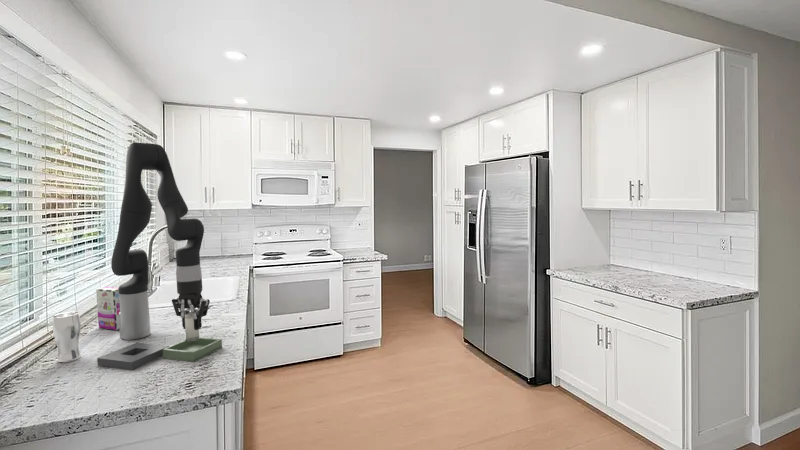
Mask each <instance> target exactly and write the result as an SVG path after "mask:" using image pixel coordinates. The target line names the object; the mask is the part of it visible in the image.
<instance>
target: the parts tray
mask: <svg viewBox="0 0 800 450" xmlns="http://www.w3.org/2000/svg"><path fill="white" fill-rule="evenodd" d="M222 341H223V340H222V338H213V337H211V338H210V337H201V336H199V339H198V340H196V341H191V342H188V341H186V338H184V339H183V340H181V341H179V342H176V343H174V344H172V345H168V346H169V347H167V348H165V349H163V356H162V358H163V359H167V360H172V361H184V362H189V363H190V362H192V363H195V362H198V361H199V360H201V359H203V358H205V357H207V356H209V355H211V354H212V353H214V352H217V351H218V350H220V349H222V348H223V342H222Z"/></svg>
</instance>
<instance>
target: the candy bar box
mask: <svg viewBox="0 0 800 450" xmlns="http://www.w3.org/2000/svg"><path fill="white" fill-rule="evenodd" d="M95 291H96V303H97V317H98V318H97V321H98V328H99V329H102V330H104V329H105V330H111V331H120V329H119V315H118V314H119V313H120V301H119V287H110V286H106V287H100V288H96V289H95Z"/></svg>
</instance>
